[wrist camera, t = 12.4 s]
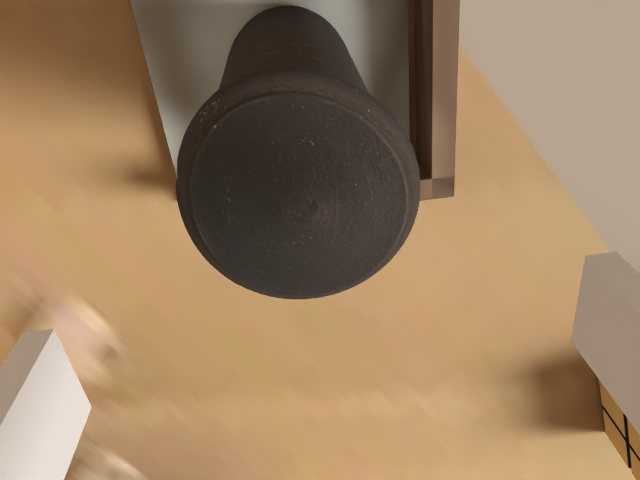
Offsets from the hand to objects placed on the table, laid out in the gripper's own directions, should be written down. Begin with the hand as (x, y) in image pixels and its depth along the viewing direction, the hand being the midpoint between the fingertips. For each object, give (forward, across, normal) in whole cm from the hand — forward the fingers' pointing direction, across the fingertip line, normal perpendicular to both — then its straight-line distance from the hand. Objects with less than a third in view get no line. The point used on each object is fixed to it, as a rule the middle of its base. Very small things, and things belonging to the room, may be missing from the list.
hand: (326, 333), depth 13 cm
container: (+26, 0, +1) cm, 26 cm away
